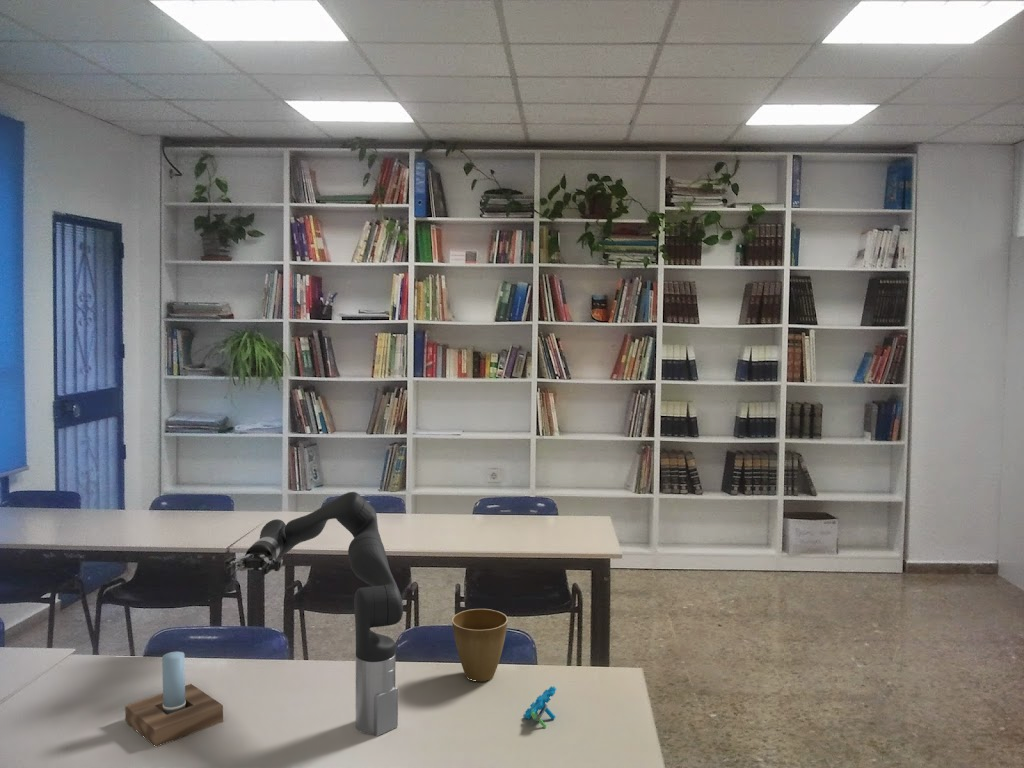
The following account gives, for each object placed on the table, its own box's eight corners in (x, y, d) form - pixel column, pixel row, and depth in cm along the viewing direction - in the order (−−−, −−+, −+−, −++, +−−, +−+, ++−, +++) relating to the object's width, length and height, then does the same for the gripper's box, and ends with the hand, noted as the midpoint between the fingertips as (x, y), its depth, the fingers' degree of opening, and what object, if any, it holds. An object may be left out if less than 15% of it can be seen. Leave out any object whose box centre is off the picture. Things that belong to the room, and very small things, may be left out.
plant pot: (457, 663, 226) (458, 607, 225) (510, 666, 224) (511, 610, 223) (445, 686, 211) (446, 627, 210) (502, 691, 209) (503, 631, 208)
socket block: (223, 721, 191) (222, 705, 191) (155, 747, 180) (155, 729, 179) (191, 699, 202) (191, 683, 202) (125, 722, 190) (125, 705, 190)
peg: (189, 721, 191) (188, 655, 190) (168, 729, 187) (167, 662, 186) (180, 714, 195) (178, 649, 193) (159, 721, 191) (158, 655, 190)
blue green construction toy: (531, 697, 202) (557, 677, 198) (547, 716, 202) (574, 696, 197) (514, 723, 192) (541, 702, 188) (531, 743, 192) (559, 722, 187)
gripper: (237, 540, 224) (218, 557, 208) (289, 540, 224) (274, 557, 208) (237, 566, 225) (218, 586, 208) (289, 566, 225) (274, 586, 209)
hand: (246, 571), depth 208 cm, fingers open, 8 cm apart
